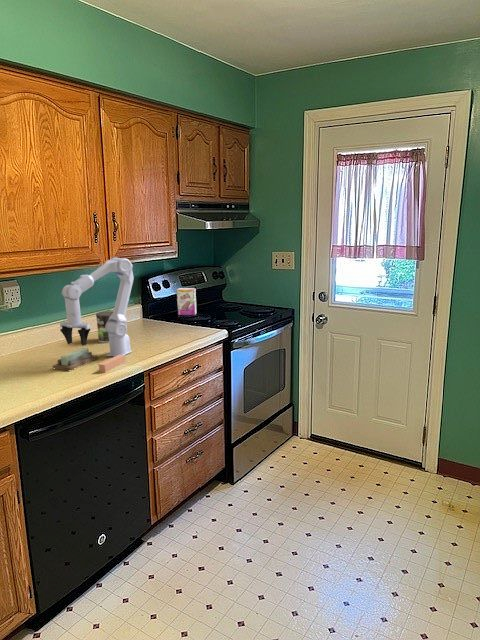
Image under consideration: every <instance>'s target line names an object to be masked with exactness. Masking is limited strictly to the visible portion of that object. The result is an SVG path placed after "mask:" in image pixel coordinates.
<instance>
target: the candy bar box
mask: <svg viewBox="0 0 480 640" xmlns="http://www.w3.org/2000/svg"><path fill="white" fill-rule="evenodd" d="M196 291H197V290H196V288H195V287H194V288H193V287H191V288H189V287H188V288H186V287H179V288H177V289H176V301H177V302H176V303H177V306H176V307H177V316H196V315H197V311H198V310H197V296H196V295H197V294H196V293H197V292H196Z"/></svg>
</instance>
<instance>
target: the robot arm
mask: <svg viewBox="0 0 480 640" xmlns="http://www.w3.org/2000/svg"><path fill="white" fill-rule="evenodd" d="M133 267H134V265H133V264H132V262H131V261H130V260H129V259H128V258H125V257H123V258H122V257H121V258H120V257H117V256H115V257H112V258H111V259H108V260H106V262H104V263H103V264H102V265H101V266H99V267H98V268H97V269H95V270H94V271H92V272H91V273H90V274H81V275H80V276H79V278H78V279H76V280H74V281H71V282H70V284H66V285H65V286H64V287H62V289H61V292H60V293H61V296H62V297H63V298H64V306H65V312H66V313H65V315H66V321H62V322H59V327H60V332H61V333H62V335H63V336H64V338H65V340H66V343H67V345H71V344H73V329H77V332H78V334H79V338H80V343H81V346H86V345H87V342H88V336H89V333H90V332H91V324H90V323H87V322H82V313H81V305H80V297H81V296H82V294H83V293H85V292H86V291H88V290H89V289H90V288H92V287H93V286H94V285H95V282H96V281H97V280H99V279H100V278H102V277H104V276H105V275H107V274H109V273H115V274H116V275H117V276H118V278H119V279H120V281H119V287H118V291H117V296H116V298H115V299H116V300H115V303H114V307H113V310H112V311H113V314H112V315H111V316H110V317H109V320H108V322H107V323H106V325H105V329H106V331H107V332H108V334H109V345H108V346H109V353H107V354H106V355H105V356H107V357H112V358H113V357H115V356H117V355H125V356H127V355H129V354H130V353H133V350H132V349H131V340H130V336H129V335H128V334H127V331H128V327H127V323H128V320H127V318H126V312H127V310H128V309H127V308H128V305H129V301H130V296H131V291H132V287H133V285H134V279H135V277H134V273H133Z"/></svg>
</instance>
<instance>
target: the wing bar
mask: <svg viewBox="0 0 480 640" xmlns="http://www.w3.org/2000/svg"><path fill="white" fill-rule="evenodd" d="M125 363H126V355H117V356H115V357H113V356H112V357H111V358H109V359H107V360H105V361H103V362H101V363H99V364H98V369H99V371H98V372H99V373H104V374H105V373H107V372H110V371H112V370H114V369H115V368H117V367H119V366H121V365H123V364H125Z"/></svg>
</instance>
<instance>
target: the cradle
mask: <svg viewBox="0 0 480 640" xmlns="http://www.w3.org/2000/svg"><path fill="white" fill-rule="evenodd" d="M98 358H99V357H98V355H97V354H93V352H92V351H89V352H88V353H86V354H84V355H82V356H79V357H77V358H75V359H72V360H70V361H68V364H69V365H62V363H61V358H60V359H57V363H56V364H54V365H52V369H53V368H55V369H54V370H56V369H61V370H60V371H64V370H72V369H74V368H76V369H78V368H80V367H82V366H84V364H85V365H86V363H87V364H88V363H91V362H93V361H95V360H98ZM81 365H82V366H81ZM79 366H80V367H79ZM77 367H78V368H77ZM74 370H75V369H74ZM72 371H73V370H72Z"/></svg>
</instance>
